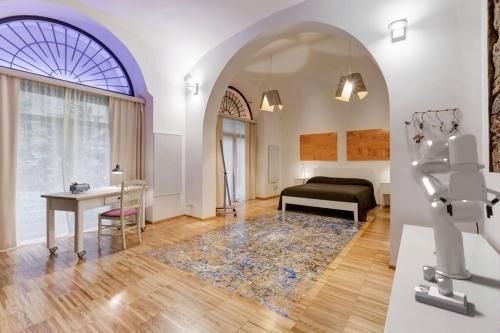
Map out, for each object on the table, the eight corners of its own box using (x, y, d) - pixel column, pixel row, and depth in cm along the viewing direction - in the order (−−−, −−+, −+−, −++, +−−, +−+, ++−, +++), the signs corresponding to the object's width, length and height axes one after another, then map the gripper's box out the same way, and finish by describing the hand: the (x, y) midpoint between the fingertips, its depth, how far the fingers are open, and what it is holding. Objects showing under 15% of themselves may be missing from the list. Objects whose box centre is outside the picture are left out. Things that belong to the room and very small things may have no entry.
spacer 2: (439, 289, 81) (437, 275, 81) (454, 293, 78) (452, 278, 78) (437, 294, 78) (436, 279, 78) (453, 298, 75) (451, 282, 75)
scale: (417, 288, 87) (416, 281, 88) (467, 301, 78) (466, 293, 78) (412, 299, 80) (411, 291, 81) (466, 314, 71) (465, 305, 71)
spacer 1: (424, 276, 97) (423, 265, 97) (436, 279, 94) (435, 267, 95) (423, 280, 94) (422, 268, 94) (435, 282, 91) (434, 270, 92)
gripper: (499, 167, 78) (504, 217, 78) (435, 170, 91) (439, 213, 90) (500, 167, 73) (506, 220, 72) (432, 170, 85) (436, 216, 84)
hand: (469, 216), depth 81 cm, fingers open, 9 cm apart
